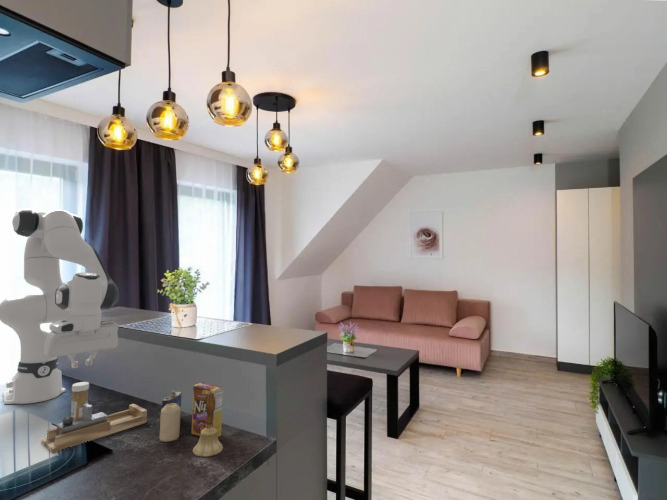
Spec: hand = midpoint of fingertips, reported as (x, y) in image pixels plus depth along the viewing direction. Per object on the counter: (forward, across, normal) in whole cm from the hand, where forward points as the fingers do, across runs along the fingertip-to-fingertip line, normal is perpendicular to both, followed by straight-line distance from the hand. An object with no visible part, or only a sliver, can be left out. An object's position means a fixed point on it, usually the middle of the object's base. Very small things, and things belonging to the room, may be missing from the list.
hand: (81, 366), depth 120 cm
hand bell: (+19, -17, +44) cm, 51 cm away
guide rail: (+19, -2, +9) cm, 21 cm away
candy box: (+19, -22, +36) cm, 46 cm away
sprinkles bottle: (+19, 0, 0) cm, 19 cm away
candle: (+19, -14, +29) cm, 37 cm away
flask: (+19, -20, +20) cm, 34 cm away
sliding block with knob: (+18, +2, +9) cm, 20 cm away
